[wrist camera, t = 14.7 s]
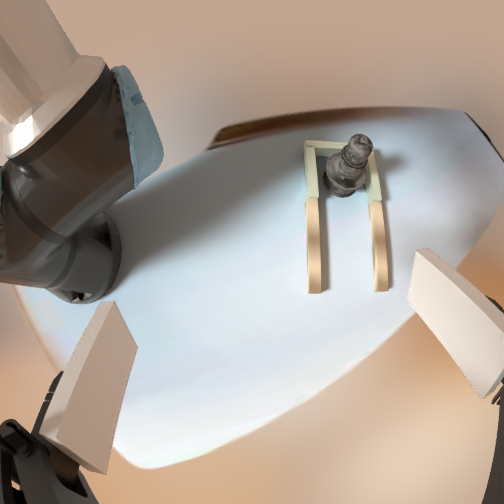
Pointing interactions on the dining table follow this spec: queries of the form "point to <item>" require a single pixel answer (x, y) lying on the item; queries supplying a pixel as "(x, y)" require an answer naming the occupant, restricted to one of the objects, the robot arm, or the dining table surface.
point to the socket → (328, 149)
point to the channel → (314, 247)
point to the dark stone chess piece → (348, 167)
